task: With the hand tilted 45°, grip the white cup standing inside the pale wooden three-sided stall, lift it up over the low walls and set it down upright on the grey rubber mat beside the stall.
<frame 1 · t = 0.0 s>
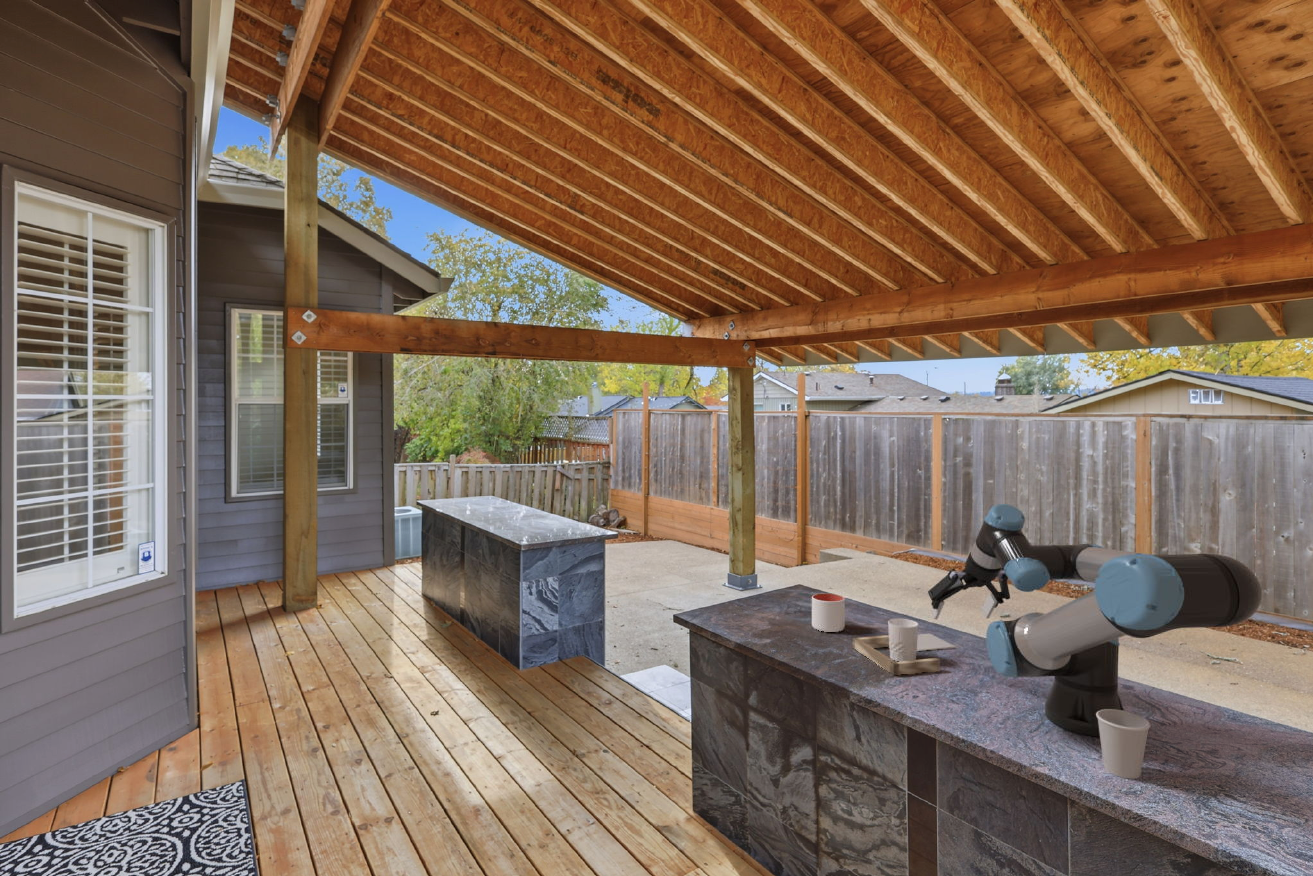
hand: (959, 614, 175), 15 cm above the table, tool tilted 35°, fingers open, 13 cm apart
cup: (828, 629, 212), on the table
mat: (924, 643, 199), on the table
dixie cup: (1121, 771, 127), on the table
white cup: (902, 659, 186), on the table
stall: (902, 658, 186), on the table
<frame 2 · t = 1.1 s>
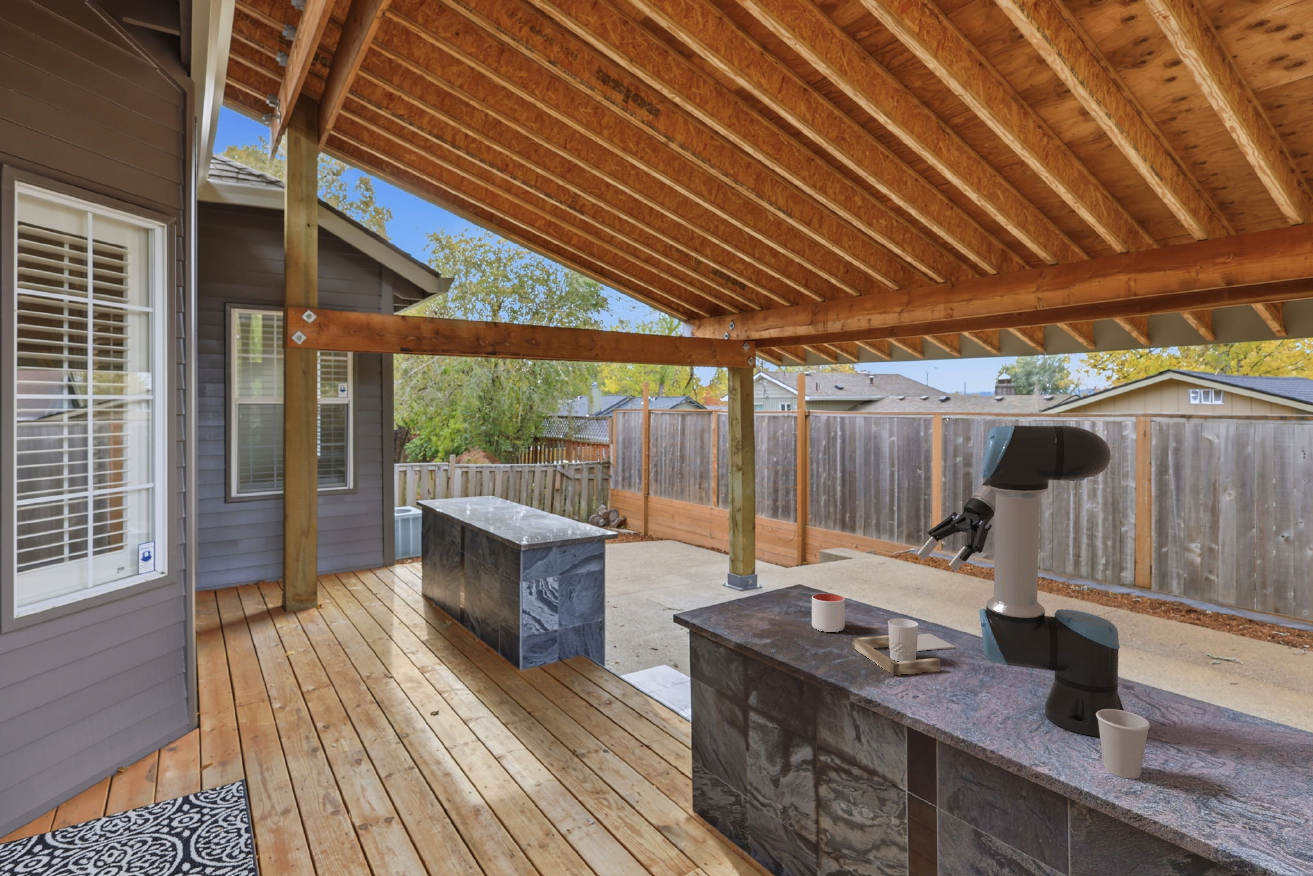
hand: (936, 562, 187), 26 cm above the table, tool tilted 45°, fingers open, 13 cm apart
nothing on the table moved.
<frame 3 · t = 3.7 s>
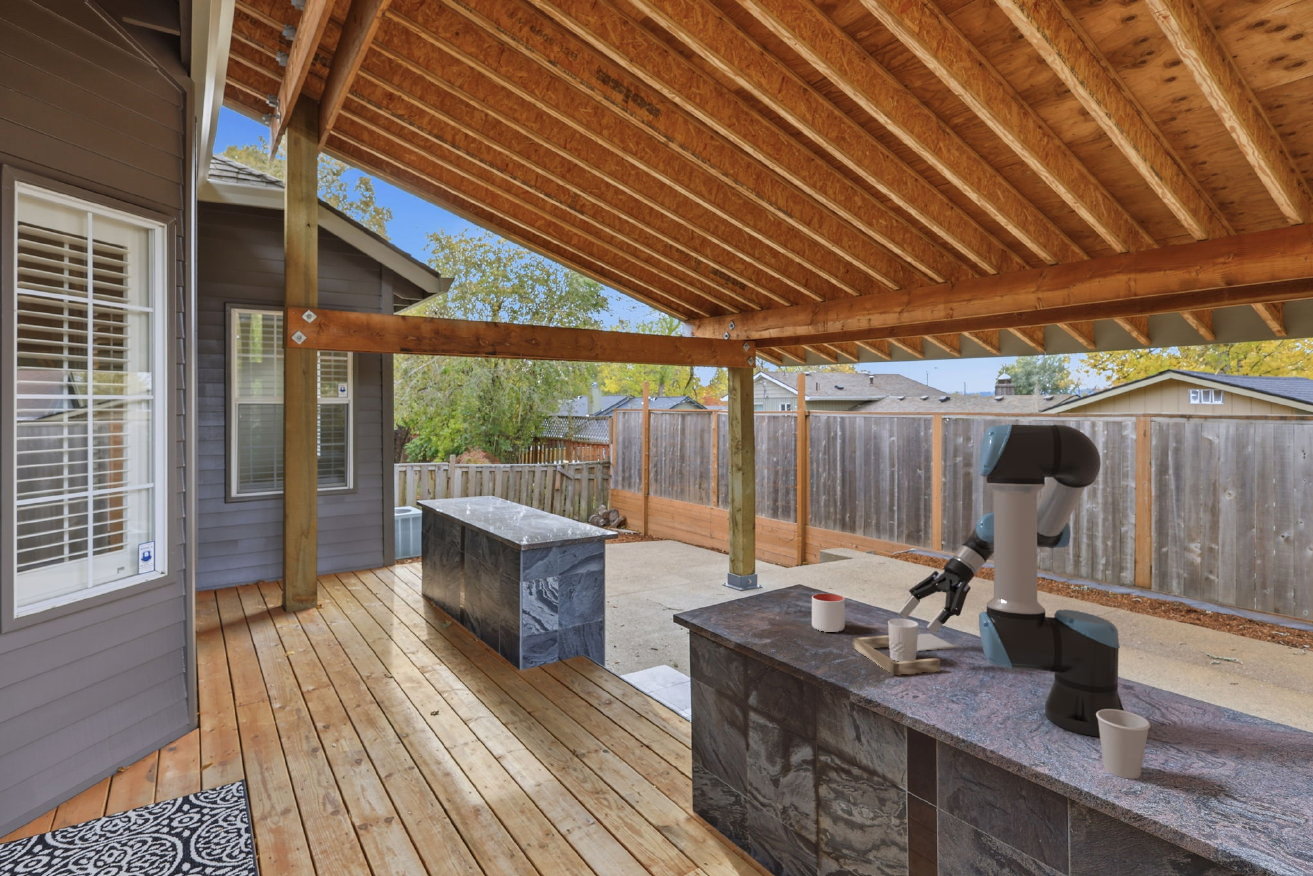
hand: (915, 623, 188), 9 cm above the table, tool tilted 45°, fingers open, 13 cm apart
nothing on the table moved.
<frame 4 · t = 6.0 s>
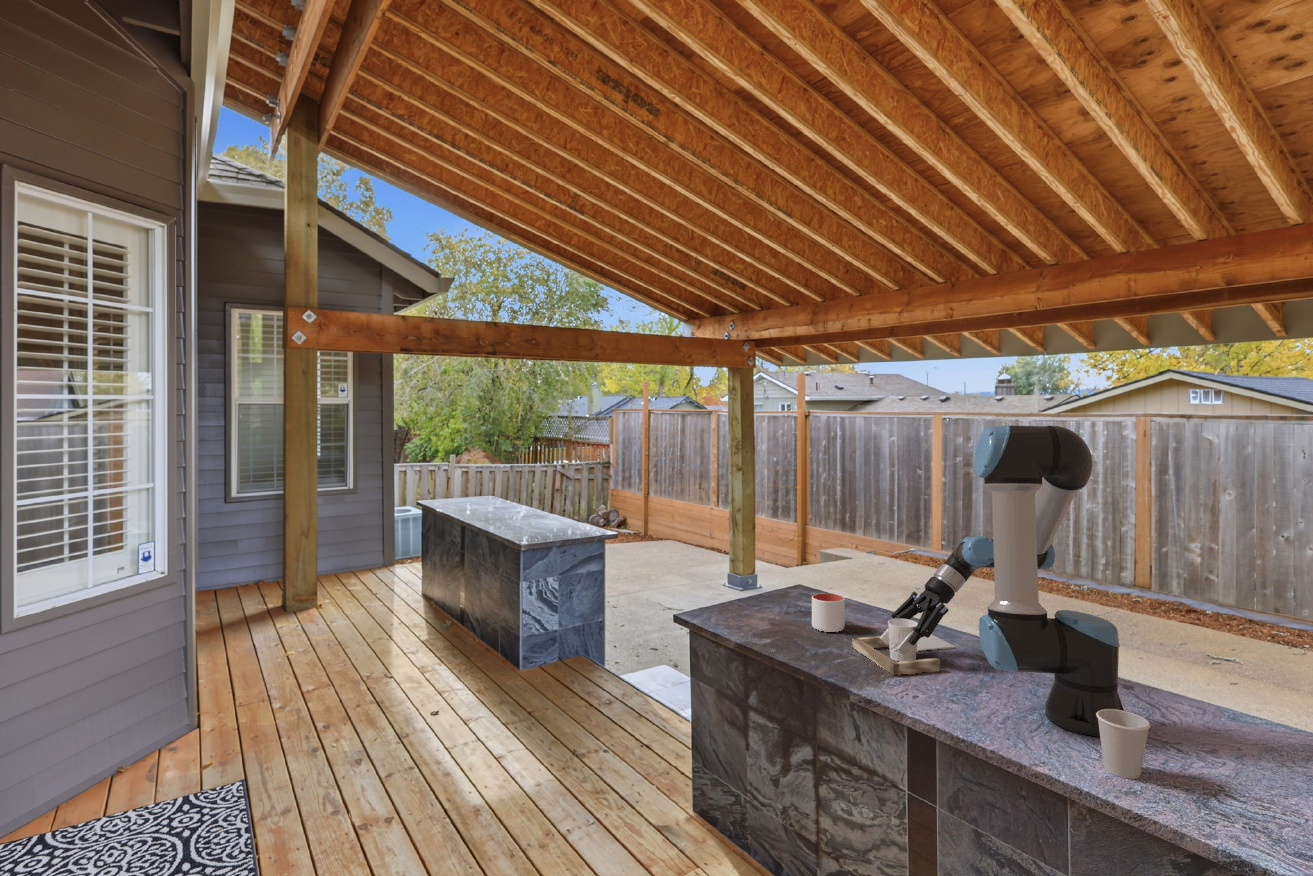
hand: (891, 646, 185), 4 cm above the table, tool tilted 45°, fingers closed on white cup, 8 cm apart
white cup: (902, 659, 186), on the table, touching gripper
everything else where it was.
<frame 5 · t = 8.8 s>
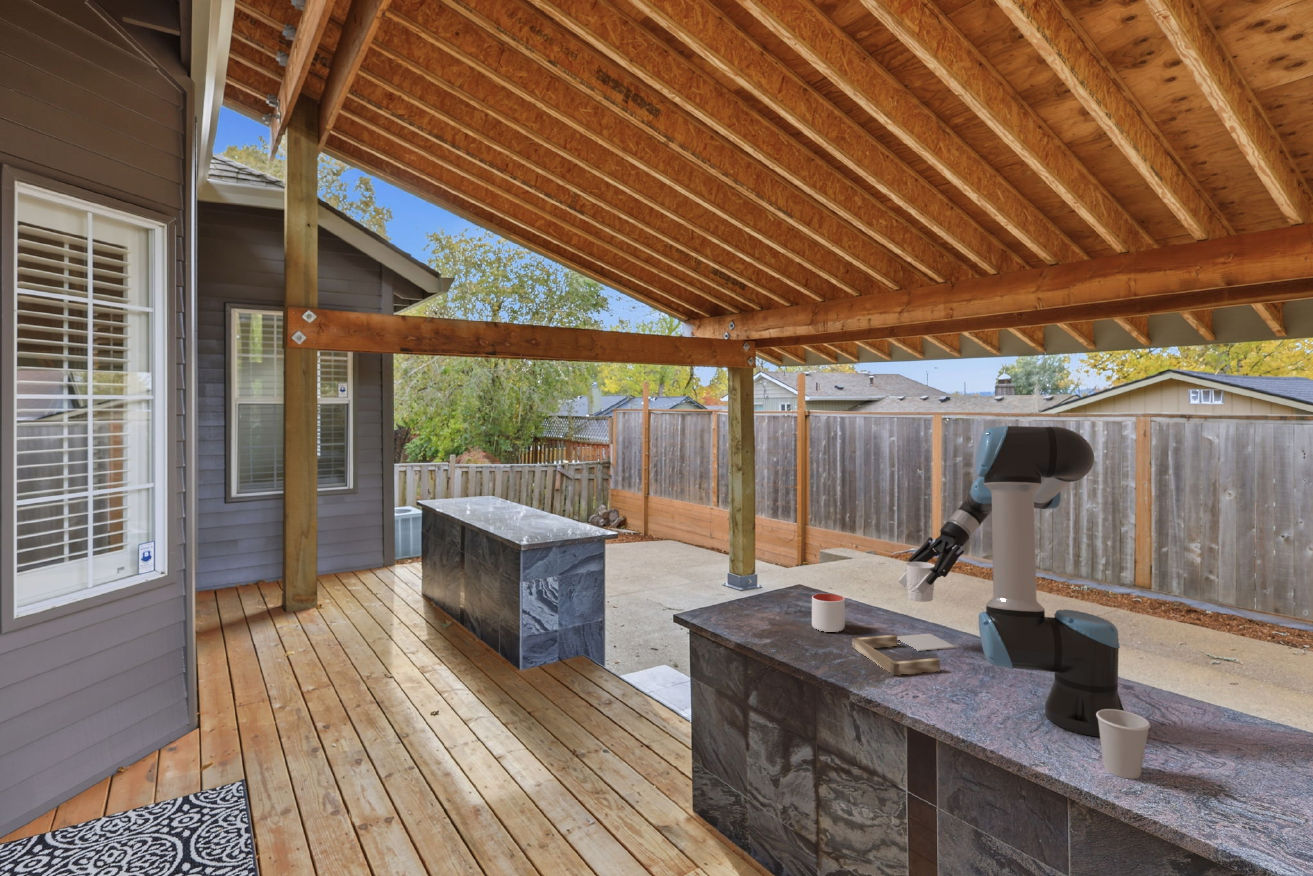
hand: (910, 587, 195), 17 cm above the table, tool tilted 45°, fingers closed on white cup, 8 cm apart
white cup: (920, 599, 196), point 13 cm above the table, touching gripper
everything else where it was.
when the fingers open (6 cm above the table, at t = 11.5 s): white cup drops 1 cm, resting on mat.
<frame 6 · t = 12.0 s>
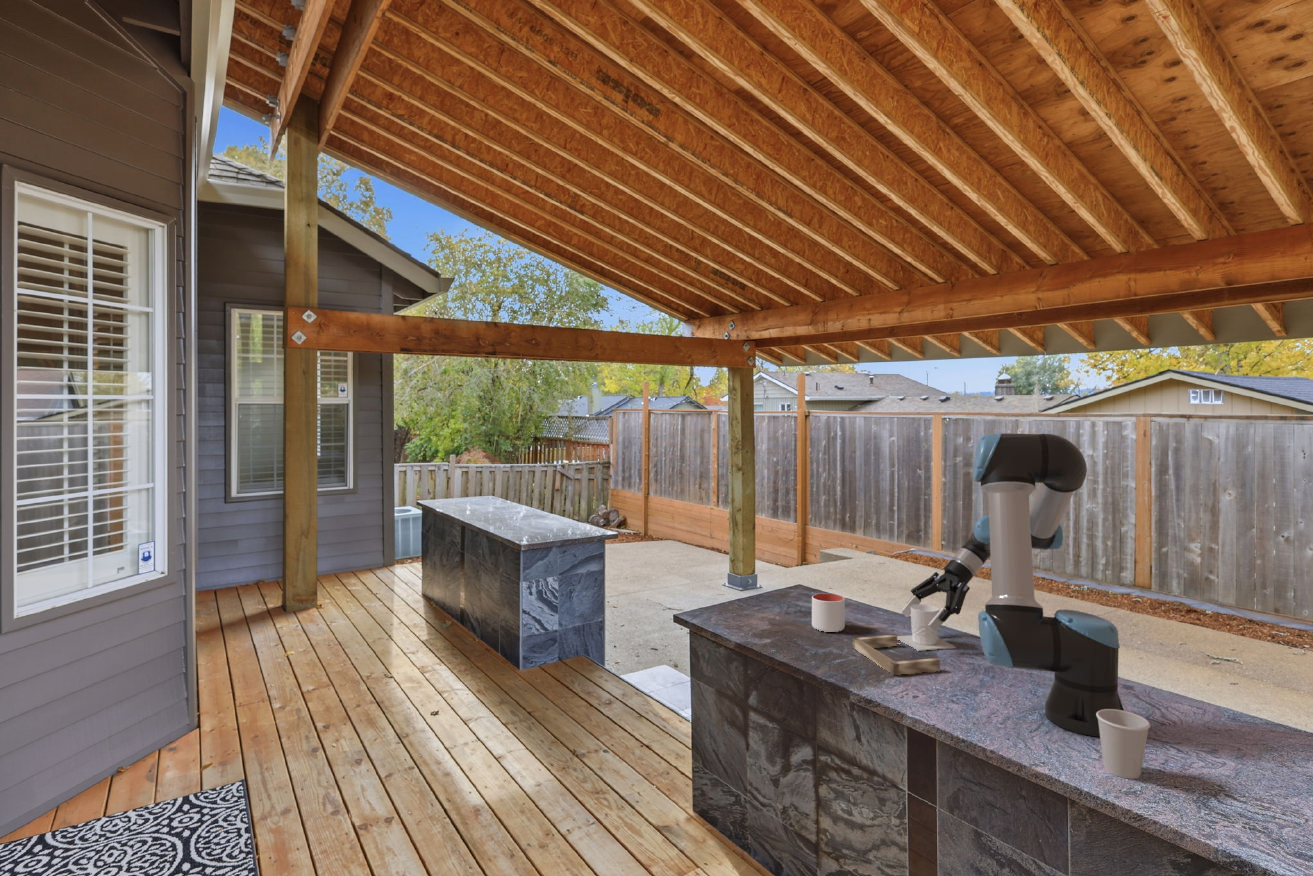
hand: (917, 621, 198), 7 cm above the table, tool tilted 45°, fingers open, 13 cm apart
white cup: (924, 642, 198), resting on mat
everything else where it was.
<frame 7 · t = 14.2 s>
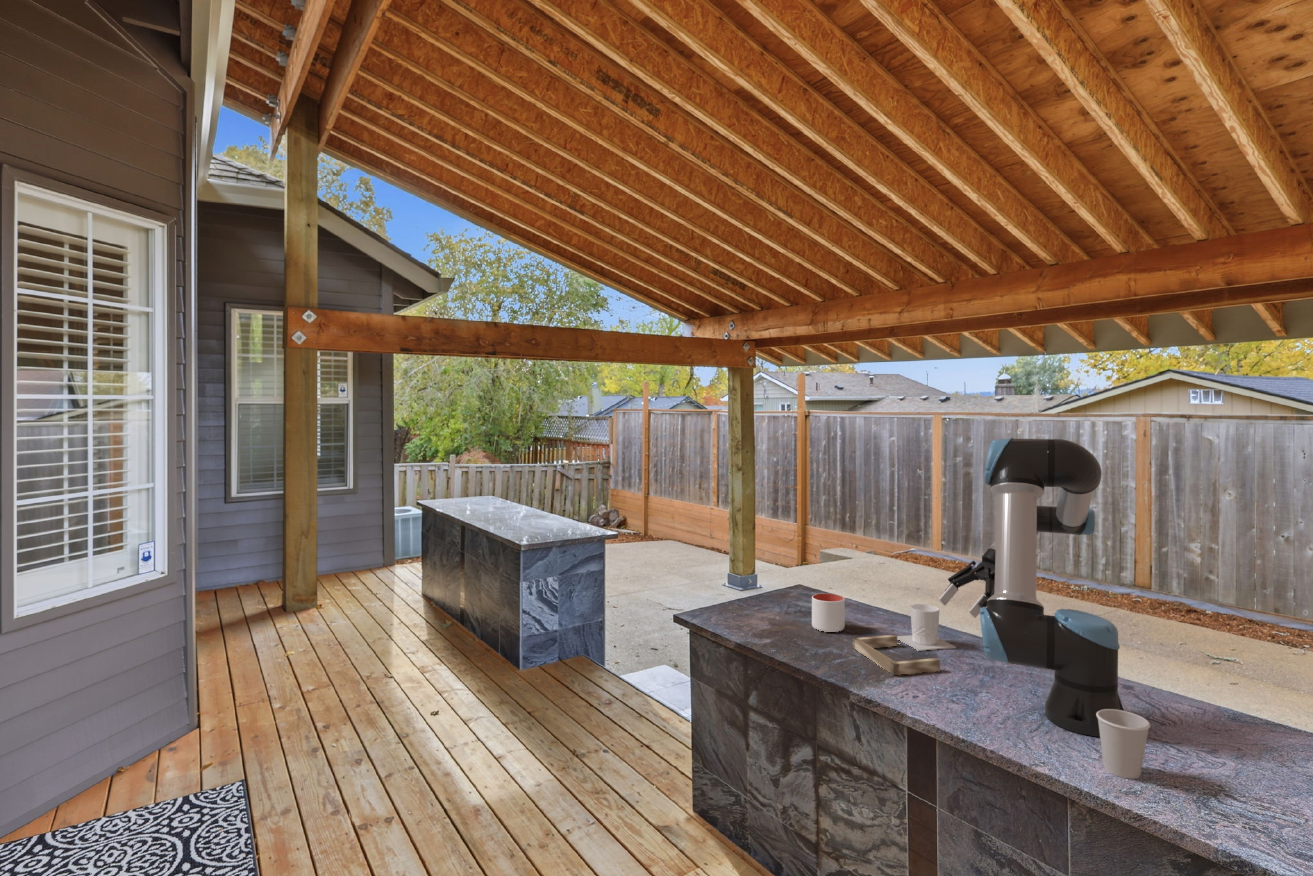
hand: (956, 608, 201), 9 cm above the table, tool tilted 45°, fingers open, 13 cm apart
nothing on the table moved.
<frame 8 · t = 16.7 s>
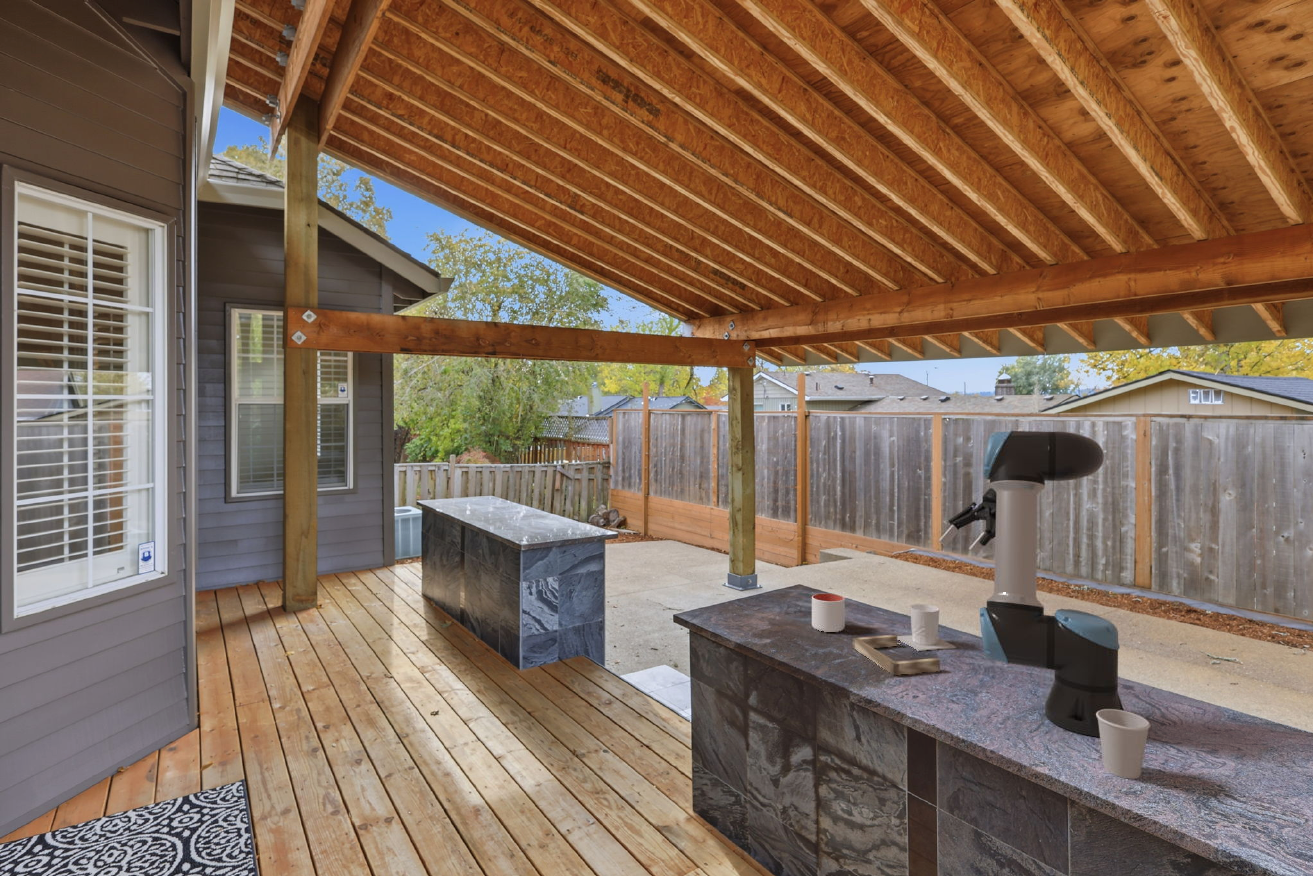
hand: (956, 547, 200), 28 cm above the table, tool tilted 45°, fingers open, 13 cm apart
nothing on the table moved.
at the end: white cup inside the target area (0.1 cm from its centre), resting on mat; white cup tilted 0°; the gripper is holding nothing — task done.
